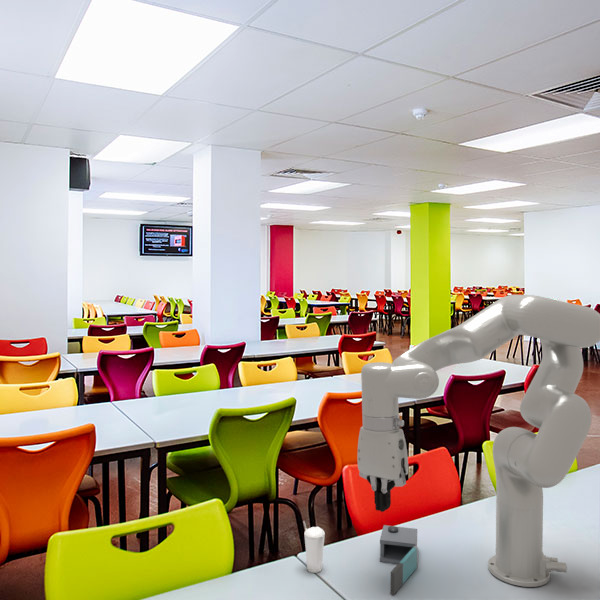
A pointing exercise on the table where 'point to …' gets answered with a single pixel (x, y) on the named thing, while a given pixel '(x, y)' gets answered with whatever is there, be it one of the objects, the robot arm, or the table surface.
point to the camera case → (396, 543)
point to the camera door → (404, 569)
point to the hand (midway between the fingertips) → (382, 508)
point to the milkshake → (314, 548)
